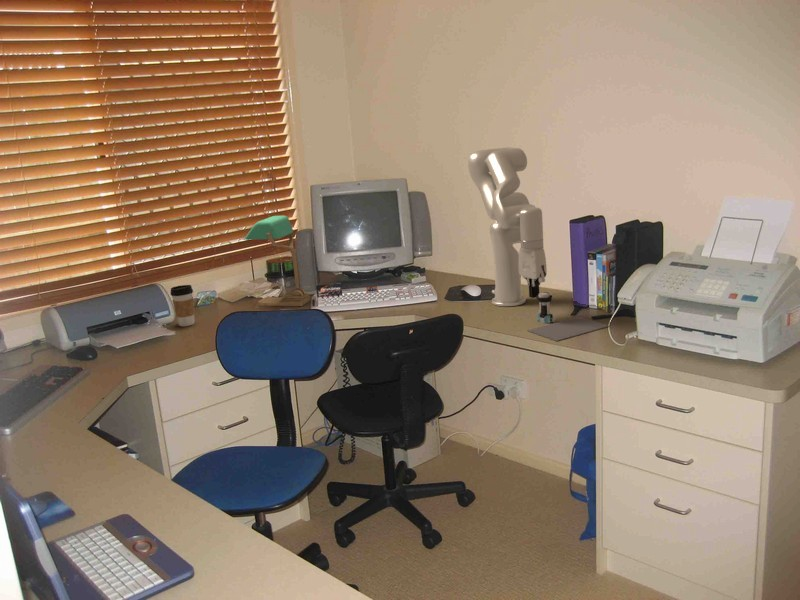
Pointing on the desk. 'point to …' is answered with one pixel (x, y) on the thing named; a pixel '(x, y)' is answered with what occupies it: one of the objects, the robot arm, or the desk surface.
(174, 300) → the coffee cup
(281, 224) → the banker's lamp
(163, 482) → the desk surface
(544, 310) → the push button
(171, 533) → the desk surface
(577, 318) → the mat
